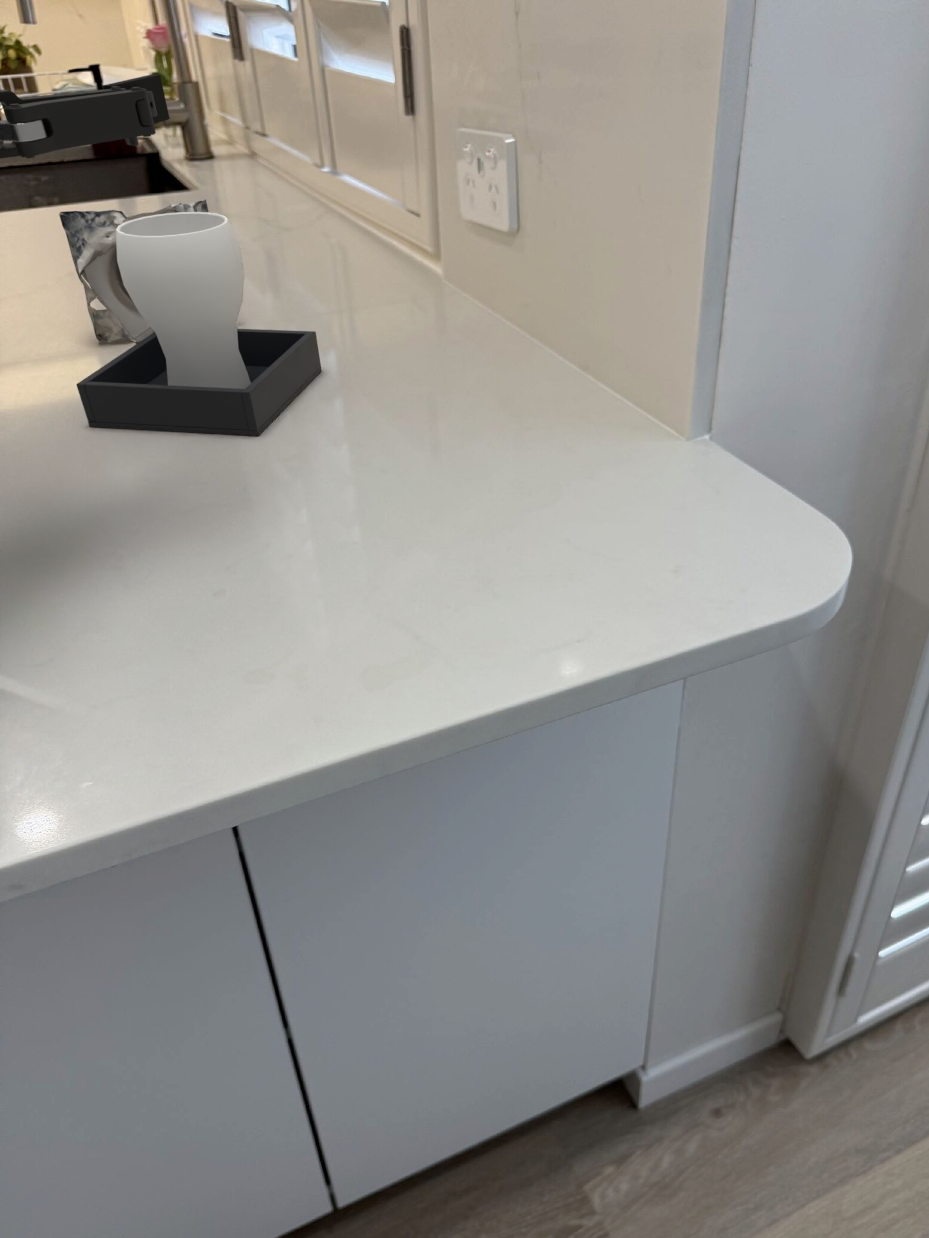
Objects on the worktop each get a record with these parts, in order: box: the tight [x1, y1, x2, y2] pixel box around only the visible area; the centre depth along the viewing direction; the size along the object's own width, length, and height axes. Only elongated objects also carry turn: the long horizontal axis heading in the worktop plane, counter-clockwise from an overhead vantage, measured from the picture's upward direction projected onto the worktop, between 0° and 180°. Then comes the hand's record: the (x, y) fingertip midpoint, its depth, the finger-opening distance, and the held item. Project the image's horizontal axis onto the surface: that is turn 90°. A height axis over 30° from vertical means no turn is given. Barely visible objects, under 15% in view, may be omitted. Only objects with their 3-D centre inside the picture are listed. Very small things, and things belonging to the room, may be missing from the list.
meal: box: [58, 198, 210, 344], centre depth 104 cm, size 15×4×13 cm, turn 115°
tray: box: [76, 328, 322, 437], centre depth 90 cm, size 17×17×4 cm
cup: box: [116, 212, 251, 389], centre depth 87 cm, size 11×11×15 cm
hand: (73, 97), depth 68 cm, fingers open, 13 cm apart
